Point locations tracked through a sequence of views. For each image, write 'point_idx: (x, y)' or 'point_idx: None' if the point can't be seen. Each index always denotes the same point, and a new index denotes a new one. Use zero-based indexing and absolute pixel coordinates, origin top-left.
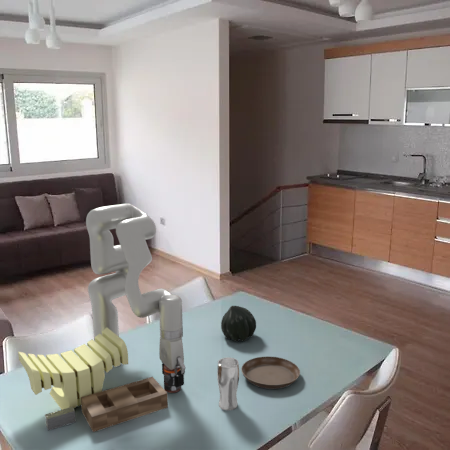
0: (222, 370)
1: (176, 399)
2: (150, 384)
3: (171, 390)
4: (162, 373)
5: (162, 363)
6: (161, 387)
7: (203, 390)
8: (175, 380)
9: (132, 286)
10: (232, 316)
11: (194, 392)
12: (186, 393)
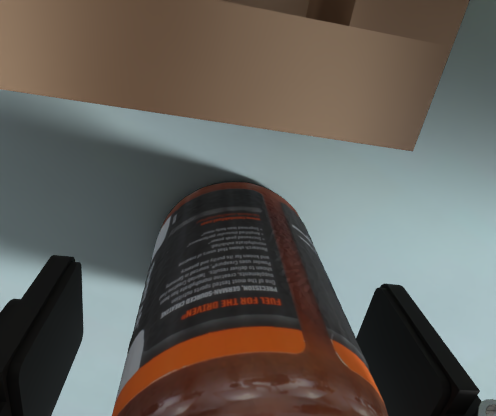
0: None
1: (68, 187)
2: (277, 12)
3: (170, 216)
4: (398, 286)
5: (473, 395)
6: (42, 83)
7: (79, 380)
8: (10, 318)
9: None
10: None
11: (89, 332)
12: (109, 287)
